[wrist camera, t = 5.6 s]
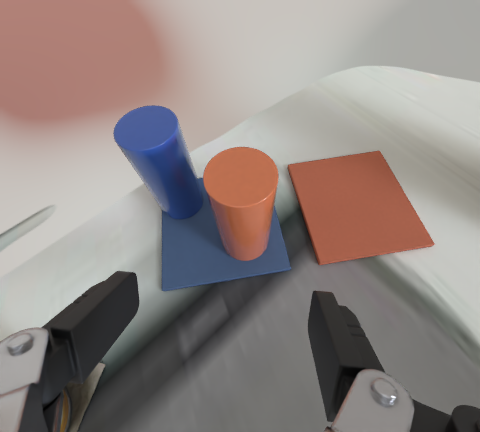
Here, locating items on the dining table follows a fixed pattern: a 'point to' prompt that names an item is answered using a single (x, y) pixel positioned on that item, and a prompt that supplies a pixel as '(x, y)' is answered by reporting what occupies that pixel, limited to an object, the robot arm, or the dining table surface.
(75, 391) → the condiment
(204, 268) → the blue mat
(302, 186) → the terracotta mat
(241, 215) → the terracotta canister
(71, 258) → the dining table surface
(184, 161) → the blue canister
